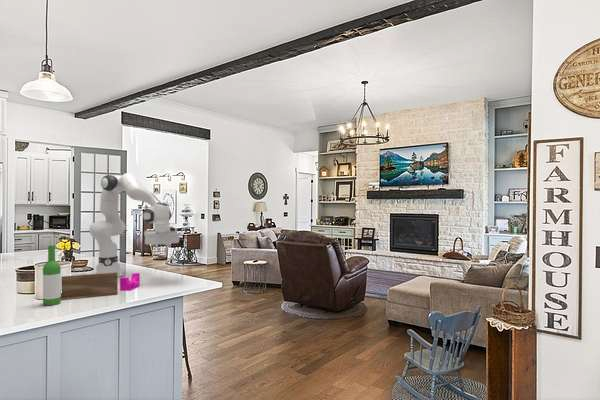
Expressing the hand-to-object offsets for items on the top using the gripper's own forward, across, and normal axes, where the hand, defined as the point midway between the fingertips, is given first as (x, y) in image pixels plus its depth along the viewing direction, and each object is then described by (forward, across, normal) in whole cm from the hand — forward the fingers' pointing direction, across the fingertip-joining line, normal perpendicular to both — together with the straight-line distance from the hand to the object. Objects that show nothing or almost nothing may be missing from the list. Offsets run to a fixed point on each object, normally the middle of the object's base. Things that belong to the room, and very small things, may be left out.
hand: (162, 250), depth 236 cm
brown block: (+21, -39, -8) cm, 45 cm away
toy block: (+22, -17, 0) cm, 28 cm away
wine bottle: (+21, -55, -21) cm, 63 cm away
